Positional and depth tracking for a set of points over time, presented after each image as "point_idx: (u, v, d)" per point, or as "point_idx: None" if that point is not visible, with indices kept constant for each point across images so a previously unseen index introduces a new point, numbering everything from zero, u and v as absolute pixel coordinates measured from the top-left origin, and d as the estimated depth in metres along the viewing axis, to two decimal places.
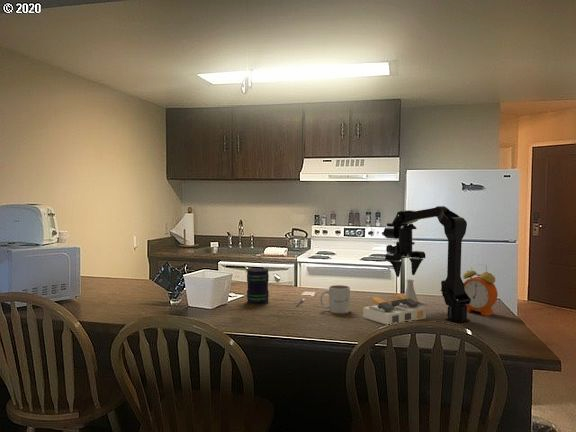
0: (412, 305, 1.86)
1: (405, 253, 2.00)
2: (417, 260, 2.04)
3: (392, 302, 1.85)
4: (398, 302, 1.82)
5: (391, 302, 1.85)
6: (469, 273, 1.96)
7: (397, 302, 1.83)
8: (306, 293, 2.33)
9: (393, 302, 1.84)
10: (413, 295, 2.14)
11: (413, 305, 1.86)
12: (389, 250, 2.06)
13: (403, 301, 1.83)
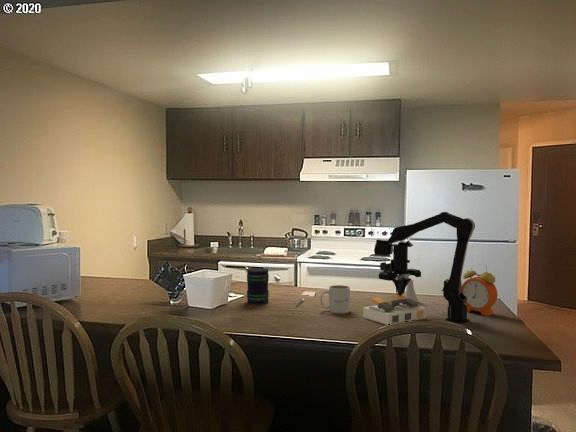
0: (412, 305, 1.86)
1: (400, 272, 1.89)
2: (404, 280, 1.91)
3: (392, 302, 1.85)
4: (398, 302, 1.82)
5: (391, 302, 1.85)
6: (469, 273, 1.96)
7: (397, 302, 1.83)
8: (306, 293, 2.33)
9: (393, 302, 1.84)
10: (413, 295, 2.14)
11: (413, 305, 1.86)
12: (383, 268, 1.95)
13: (403, 301, 1.83)
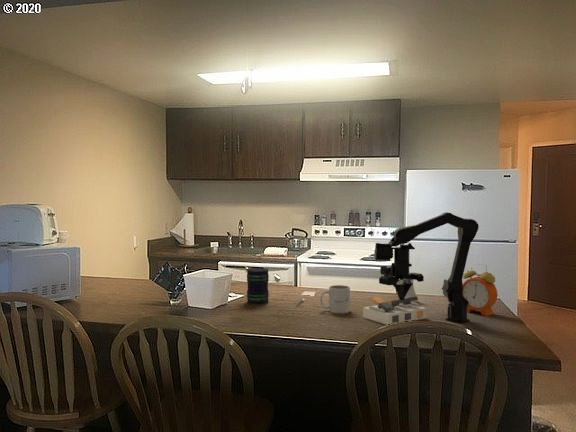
0: (412, 298, 1.86)
1: (401, 276, 1.80)
2: (406, 284, 1.82)
3: (392, 302, 1.85)
4: (398, 302, 1.82)
5: (391, 302, 1.85)
6: (469, 273, 1.96)
7: (397, 302, 1.83)
8: (306, 293, 2.33)
9: (393, 302, 1.84)
10: (413, 295, 2.14)
11: (413, 298, 1.86)
12: (383, 272, 1.85)
13: (403, 301, 1.83)
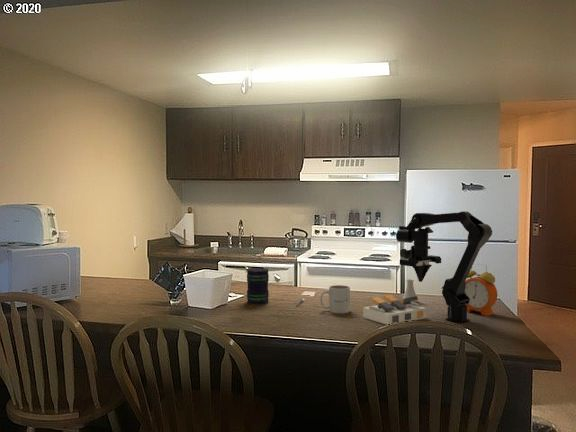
0: (412, 298, 1.86)
1: (420, 258, 1.90)
2: (425, 266, 1.92)
3: (392, 303, 1.85)
4: (398, 308, 1.82)
5: (391, 302, 1.85)
6: (469, 273, 1.96)
7: (397, 307, 1.83)
8: (306, 293, 2.33)
9: (393, 304, 1.85)
10: (413, 295, 2.14)
11: (413, 298, 1.86)
12: (403, 254, 1.96)
13: (403, 308, 1.83)
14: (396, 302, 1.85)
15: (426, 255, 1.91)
